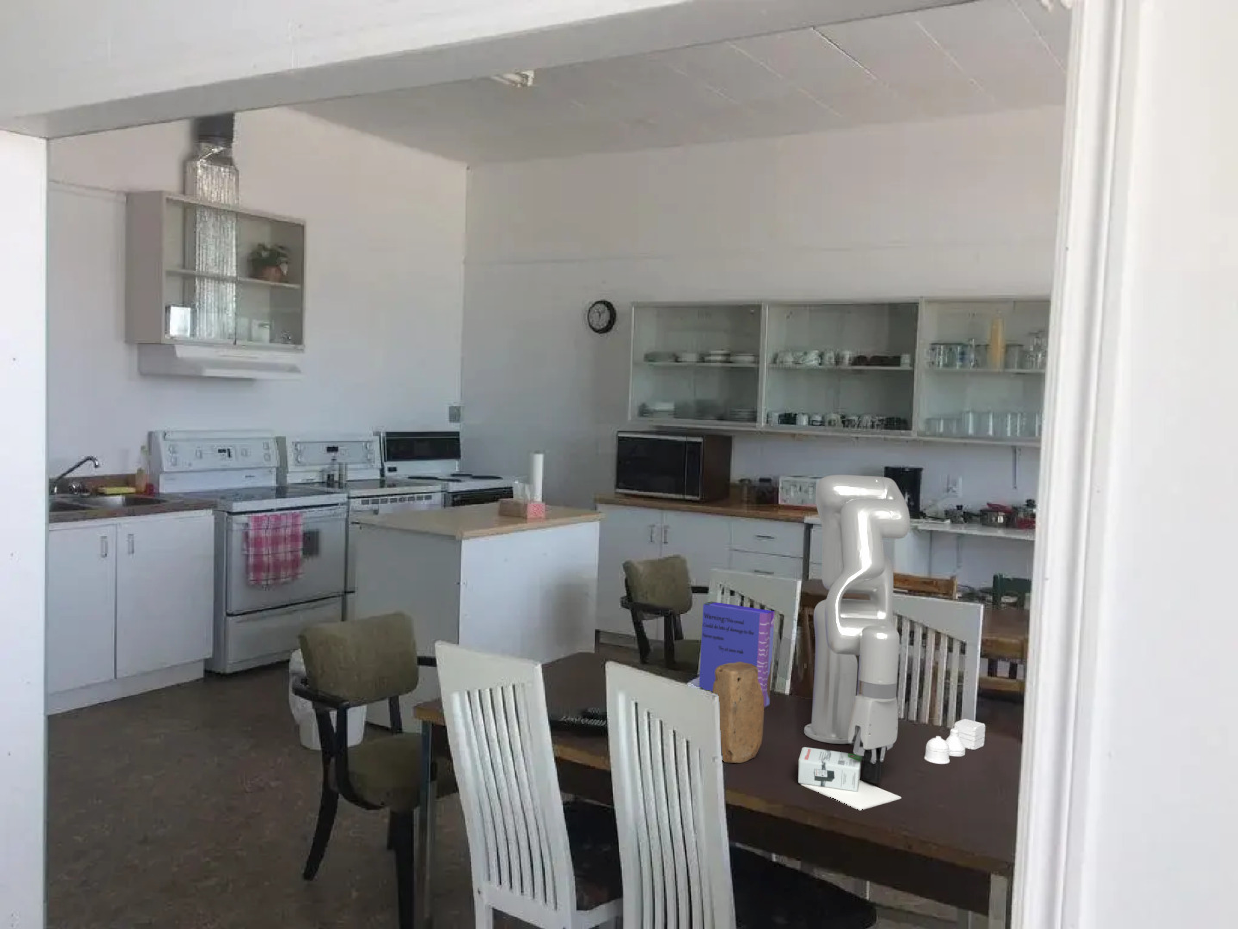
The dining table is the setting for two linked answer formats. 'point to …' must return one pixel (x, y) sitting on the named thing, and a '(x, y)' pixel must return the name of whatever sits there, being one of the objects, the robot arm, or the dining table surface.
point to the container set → (956, 741)
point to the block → (739, 710)
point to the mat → (857, 795)
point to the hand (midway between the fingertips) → (871, 780)
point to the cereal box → (736, 642)
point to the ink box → (829, 769)
